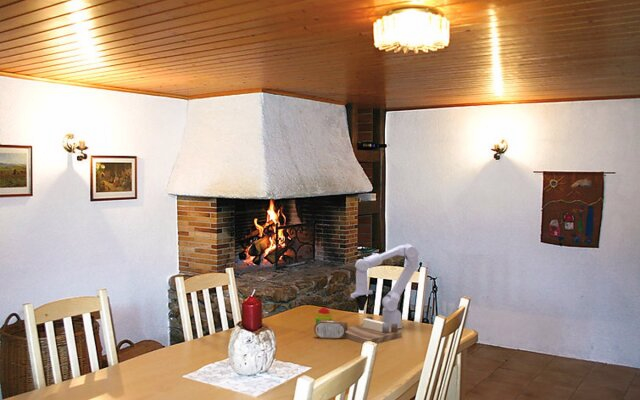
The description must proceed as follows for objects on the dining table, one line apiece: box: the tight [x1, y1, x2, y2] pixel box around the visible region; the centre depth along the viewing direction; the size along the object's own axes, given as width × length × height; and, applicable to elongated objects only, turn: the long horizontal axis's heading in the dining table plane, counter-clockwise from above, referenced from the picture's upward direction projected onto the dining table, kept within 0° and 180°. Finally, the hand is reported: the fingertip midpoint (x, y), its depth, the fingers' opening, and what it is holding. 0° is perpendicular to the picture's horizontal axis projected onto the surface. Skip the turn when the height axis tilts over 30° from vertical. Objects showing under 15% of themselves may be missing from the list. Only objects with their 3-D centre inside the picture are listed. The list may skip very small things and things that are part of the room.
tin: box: [313, 320, 346, 340], centre depth 280 cm, size 15×3×8 cm, turn 84°
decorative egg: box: [315, 307, 333, 324], centre depth 299 cm, size 8×8×10 cm
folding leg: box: [362, 317, 389, 333], centre depth 284 cm, size 15×3×4 cm, turn 45°
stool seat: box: [341, 316, 403, 345], centre depth 283 cm, size 22×22×6 cm
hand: (361, 310), depth 296 cm, fingers closed
